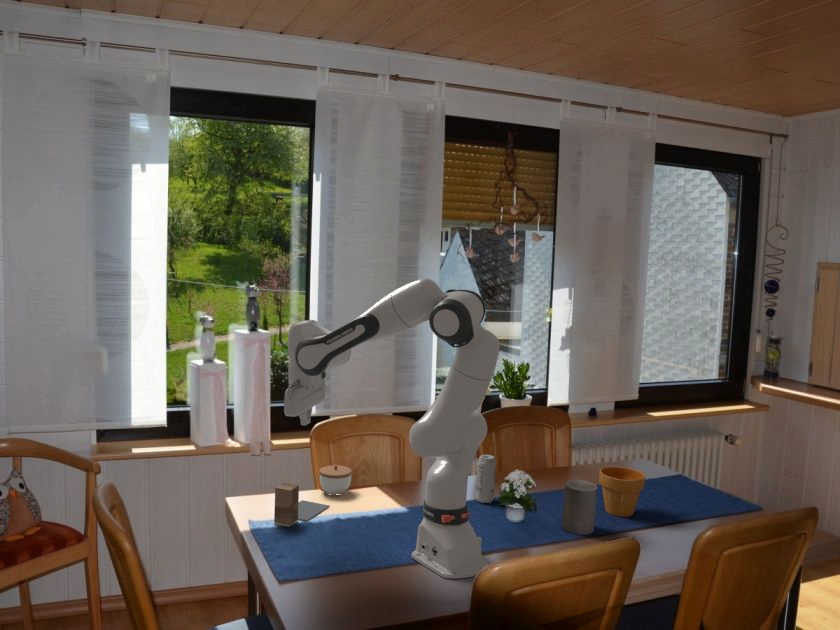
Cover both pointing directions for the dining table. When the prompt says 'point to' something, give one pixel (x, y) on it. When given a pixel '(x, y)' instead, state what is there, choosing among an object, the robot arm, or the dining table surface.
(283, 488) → the walnut block
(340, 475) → the lidded jar
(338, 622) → the dining table surface
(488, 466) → the energy drink can
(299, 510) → the felt mat
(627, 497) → the flower pot
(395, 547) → the dining table surface
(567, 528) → the pillar candle
